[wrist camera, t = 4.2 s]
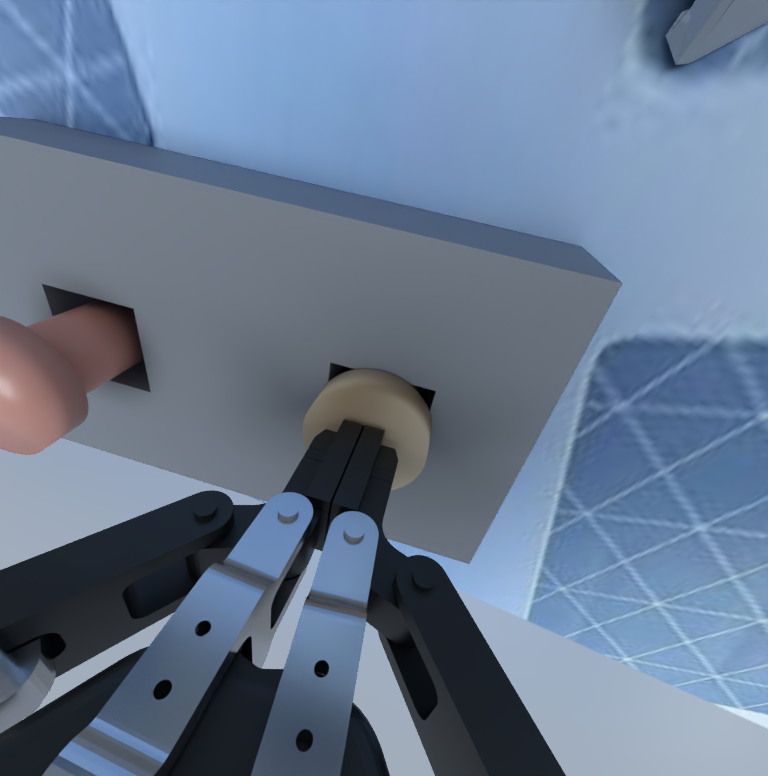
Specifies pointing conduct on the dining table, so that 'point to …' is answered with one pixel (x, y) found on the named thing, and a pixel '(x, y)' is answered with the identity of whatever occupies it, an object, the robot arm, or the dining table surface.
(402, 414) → the tan dome on base
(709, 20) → the electrical switch
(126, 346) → the salmon pink plug
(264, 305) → the plug block
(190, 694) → the robot arm
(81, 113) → the dining table surface
